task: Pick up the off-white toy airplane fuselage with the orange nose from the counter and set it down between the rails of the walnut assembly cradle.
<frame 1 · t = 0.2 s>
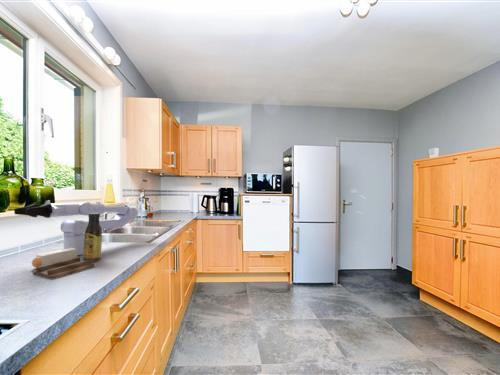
hand: (20, 211, 90), 21 cm above the table, tool horizontal, fingers open, 7 cm apart
jig: (65, 270, 87), on the table
fuselage: (57, 264, 94), on the table
sauce bottle: (92, 261, 98), on the table
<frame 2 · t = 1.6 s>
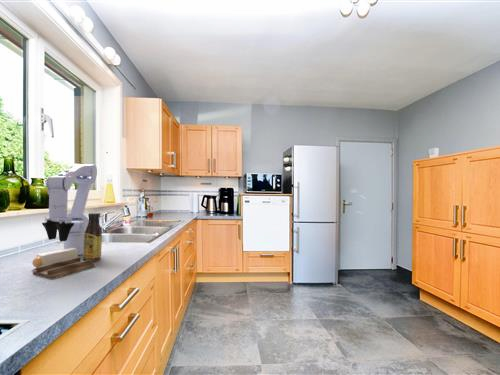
hand: (57, 240, 94), 9 cm above the table, tool pointing down, fingers open, 7 cm apart
nothing on the table moved.
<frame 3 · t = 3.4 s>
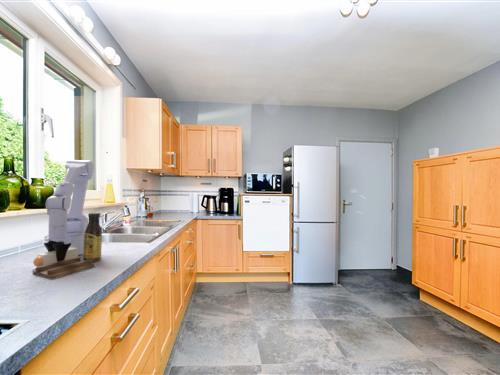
hand: (57, 260, 94), 1 cm above the table, tool pointing down, fingers closed on fuselage, 4 cm apart
fuselage: (58, 263, 94), on the table, touching gripper
everything else where it was.
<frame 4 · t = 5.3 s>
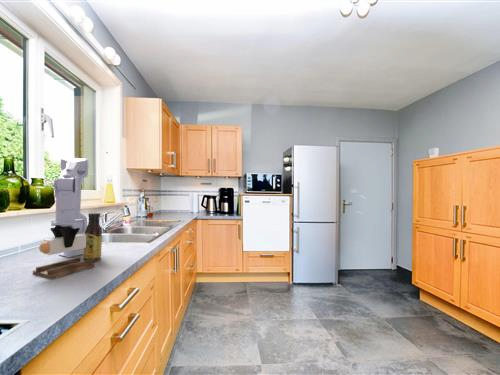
hand: (64, 246, 87), 9 cm above the table, tool pointing down, fingers closed on fuselage, 4 cm apart
fuselage: (65, 250, 88), point 7 cm above the table, touching gripper
everything else where it was.
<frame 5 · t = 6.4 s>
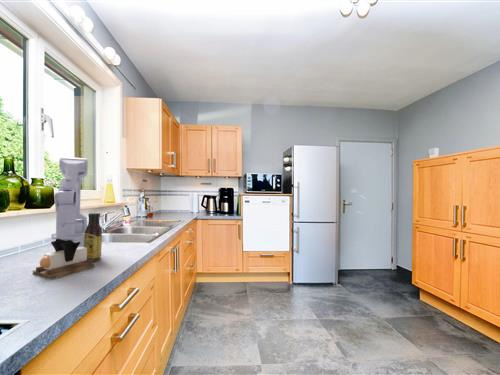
hand: (65, 260, 87), 4 cm above the table, tool pointing down, fingers closed on fuselage, 4 cm apart
fuselage: (66, 264, 87), point 2 cm above the table, touching gripper
everything else where it was.
when the fingers open (4 cm above the table, at t = 7.1 s): fuselage drops 1 cm, resting on jig.
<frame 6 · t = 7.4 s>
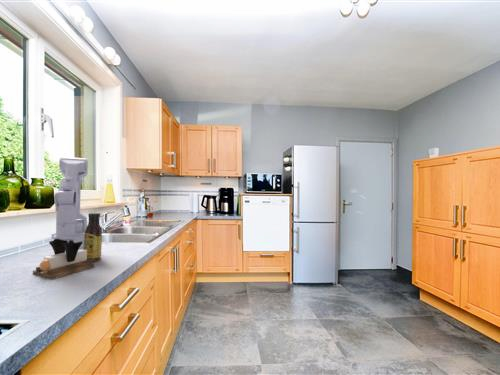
hand: (65, 260, 87), 4 cm above the table, tool pointing down, fingers open, 6 cm apart
fuselage: (66, 267, 87), point 1 cm above the table, touching jig
everything else where it was.
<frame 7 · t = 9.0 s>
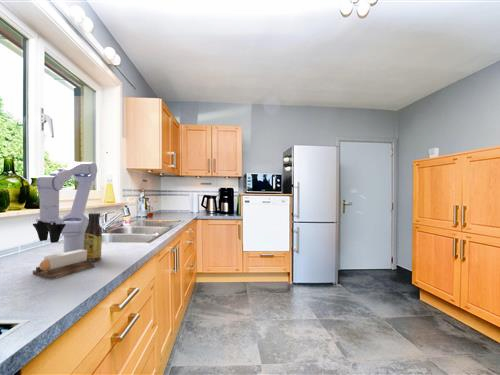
hand: (48, 241, 91), 9 cm above the table, tool pointing down, fingers open, 7 cm apart
nothing on the table moved.
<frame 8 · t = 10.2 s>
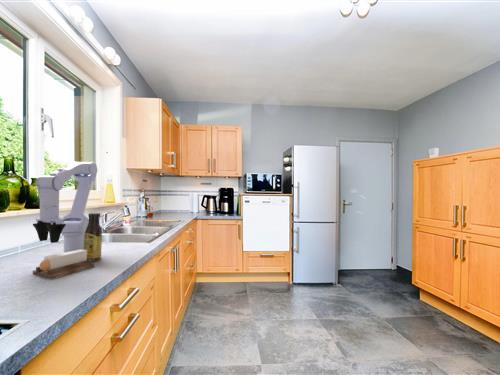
hand: (48, 241, 91), 9 cm above the table, tool pointing down, fingers open, 7 cm apart
nothing on the table moved.
at the end: fuselage 0.4 cm off-centre on the jig, point 1.0 cm above the jig's base; fuselage tilted 0°; the gripper is holding nothing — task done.
